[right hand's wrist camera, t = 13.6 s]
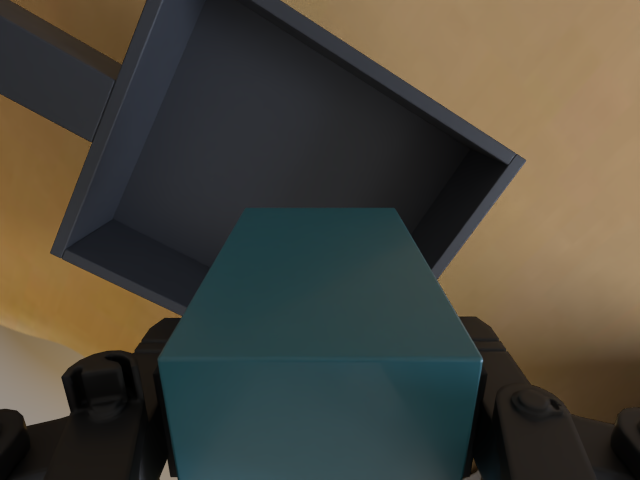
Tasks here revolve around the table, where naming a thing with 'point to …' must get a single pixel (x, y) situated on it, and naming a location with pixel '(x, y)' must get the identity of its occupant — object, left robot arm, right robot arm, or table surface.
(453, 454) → the block
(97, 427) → the right robot arm
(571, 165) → the table surface
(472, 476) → the toy gun
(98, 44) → the table surface
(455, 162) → the tray
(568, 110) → the table surface
